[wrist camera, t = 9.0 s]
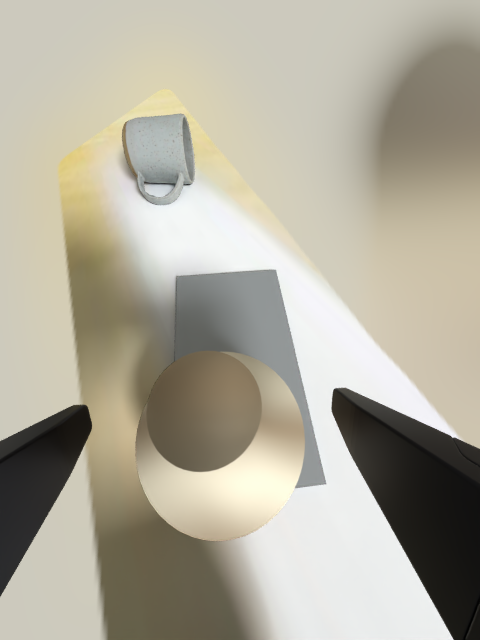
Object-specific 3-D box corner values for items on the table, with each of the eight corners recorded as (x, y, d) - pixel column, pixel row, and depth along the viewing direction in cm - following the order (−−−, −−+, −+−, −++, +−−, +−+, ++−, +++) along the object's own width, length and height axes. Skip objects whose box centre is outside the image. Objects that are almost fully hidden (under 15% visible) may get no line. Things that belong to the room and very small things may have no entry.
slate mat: (323, 482, 17) (326, 483, 17) (171, 503, 16) (169, 505, 16) (274, 273, 27) (275, 269, 26) (178, 279, 26) (176, 276, 26)
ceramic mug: (144, 164, 37) (124, 102, 30) (196, 165, 37) (187, 103, 31) (132, 208, 32) (104, 145, 25) (191, 208, 32) (180, 146, 26)
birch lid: (321, 516, 13) (504, 657, 4) (135, 551, 12) (-128, 820, 3) (281, 349, 18) (327, 250, 9) (146, 365, 17) (51, 274, 8)
